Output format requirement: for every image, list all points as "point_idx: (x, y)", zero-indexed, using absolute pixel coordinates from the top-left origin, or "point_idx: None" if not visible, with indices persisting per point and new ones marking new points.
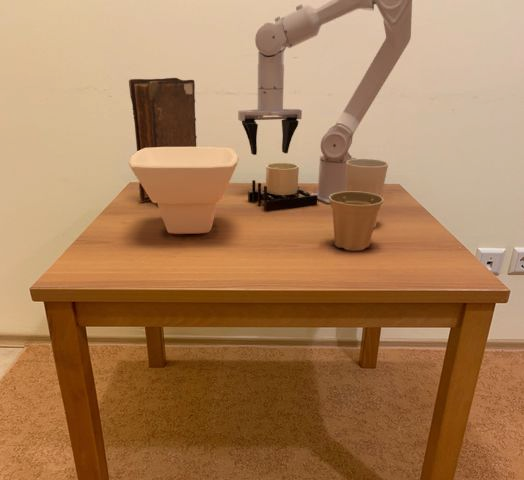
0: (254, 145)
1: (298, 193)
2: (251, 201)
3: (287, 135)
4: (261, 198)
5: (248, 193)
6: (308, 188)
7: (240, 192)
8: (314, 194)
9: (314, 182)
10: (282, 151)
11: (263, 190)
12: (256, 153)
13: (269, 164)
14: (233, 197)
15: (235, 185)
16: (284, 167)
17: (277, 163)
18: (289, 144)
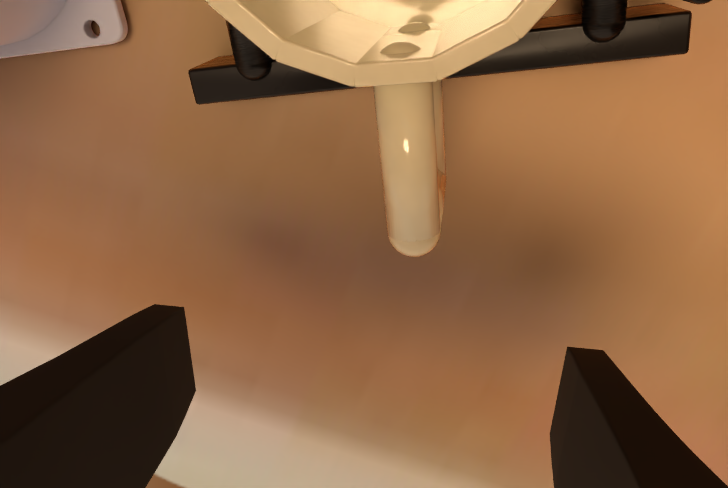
0: (640, 415)
1: (210, 61)
2: (648, 5)
3: (25, 426)
4: (551, 17)
5: (685, 35)
6: (100, 243)
7: (589, 300)
8: (94, 3)
9: (37, 356)
10: (192, 389)
11: (530, 44)
12: (571, 353)
13: (514, 10)
14: (713, 189)
15: (538, 457)
16: (293, 30)
17: (373, 61)
18: (74, 347)
